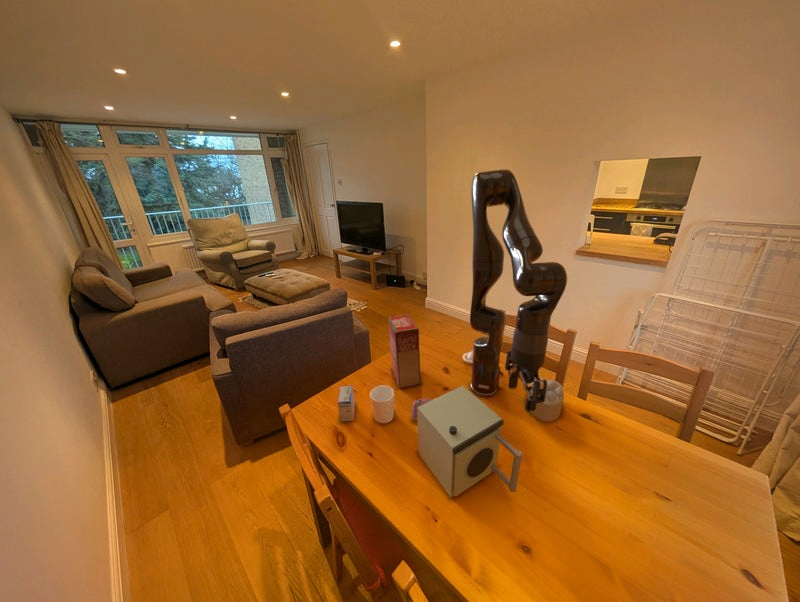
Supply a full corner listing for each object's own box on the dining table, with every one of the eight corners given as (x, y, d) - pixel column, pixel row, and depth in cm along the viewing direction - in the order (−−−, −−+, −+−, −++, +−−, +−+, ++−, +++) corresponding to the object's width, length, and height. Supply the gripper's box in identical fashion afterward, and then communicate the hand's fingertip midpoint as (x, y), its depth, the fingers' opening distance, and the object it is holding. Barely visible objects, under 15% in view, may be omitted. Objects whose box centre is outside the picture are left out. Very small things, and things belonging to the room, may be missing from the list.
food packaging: (391, 368, 124) (387, 316, 114) (412, 364, 126) (410, 312, 116) (398, 389, 112) (394, 332, 102) (422, 384, 114) (420, 328, 104)
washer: (460, 430, 93) (463, 382, 85) (497, 468, 81) (504, 417, 73) (418, 453, 86) (416, 404, 78) (452, 499, 74) (454, 446, 66)
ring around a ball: (465, 367, 122) (484, 366, 122) (466, 356, 120) (485, 354, 120) (460, 357, 129) (478, 355, 130) (460, 346, 127) (478, 344, 128)
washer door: (493, 467, 80) (498, 428, 74) (518, 493, 73) (525, 452, 67) (453, 494, 74) (454, 454, 68) (476, 525, 67) (480, 483, 61)
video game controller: (441, 418, 100) (440, 398, 100) (441, 423, 95) (441, 402, 96) (412, 417, 101) (412, 397, 101) (411, 422, 96) (411, 401, 97)
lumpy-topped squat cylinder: (559, 398, 103) (563, 378, 100) (561, 425, 93) (566, 404, 89) (527, 391, 108) (530, 372, 104) (525, 416, 97) (529, 396, 93)
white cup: (398, 410, 102) (397, 387, 98) (390, 427, 96) (389, 403, 91) (378, 405, 105) (375, 383, 101) (369, 422, 98) (366, 398, 94)
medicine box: (343, 405, 106) (339, 386, 102) (355, 404, 106) (352, 385, 102) (340, 422, 99) (337, 402, 95) (354, 421, 99) (351, 401, 95)
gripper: (563, 359, 64) (550, 416, 70) (527, 328, 77) (519, 379, 83) (531, 363, 63) (521, 421, 69) (500, 332, 76) (494, 382, 82)
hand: (520, 398), depth 76 cm, fingers open, 8 cm apart
